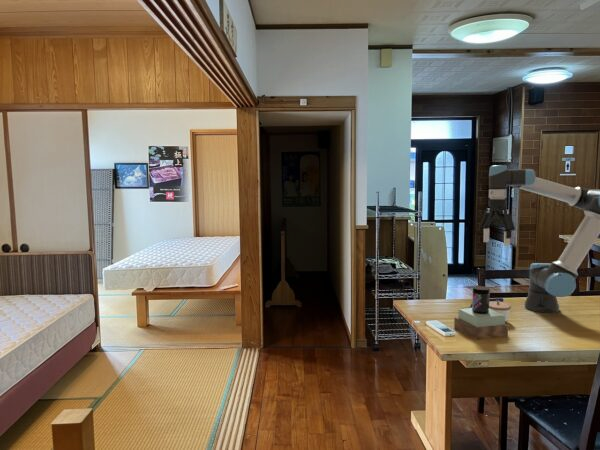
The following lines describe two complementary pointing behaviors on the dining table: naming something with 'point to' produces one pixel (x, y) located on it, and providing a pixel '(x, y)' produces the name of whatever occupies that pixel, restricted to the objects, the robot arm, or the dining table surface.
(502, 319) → the sage top block
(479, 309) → the supplement container
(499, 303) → the lidded jar
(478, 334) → the walnut base block
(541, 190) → the robot arm
